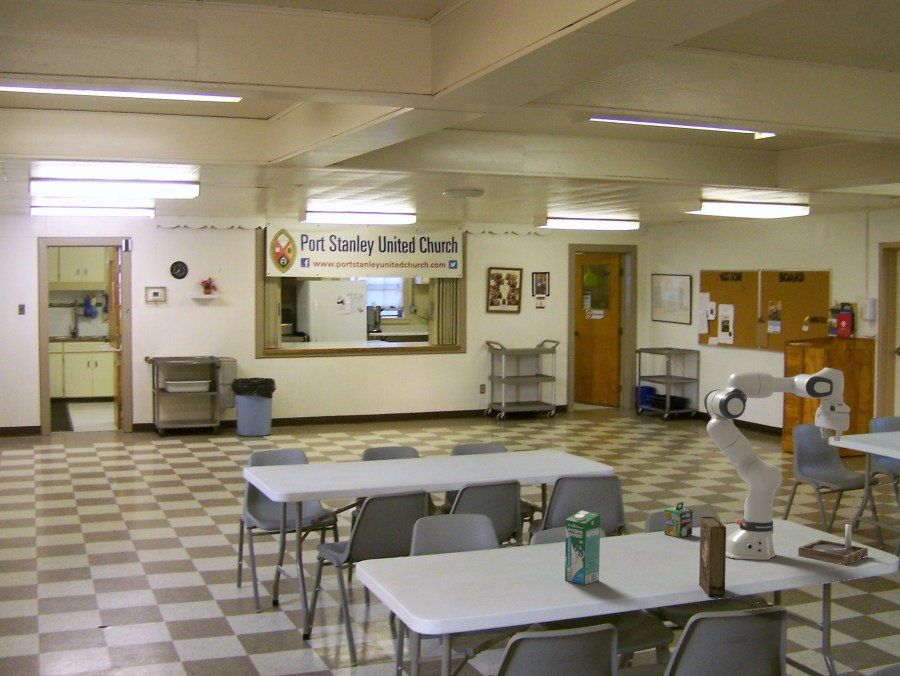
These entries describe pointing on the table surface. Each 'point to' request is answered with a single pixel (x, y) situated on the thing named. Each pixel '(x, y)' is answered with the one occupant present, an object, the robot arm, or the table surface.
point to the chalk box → (678, 521)
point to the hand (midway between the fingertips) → (830, 439)
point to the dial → (836, 548)
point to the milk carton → (582, 547)
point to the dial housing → (832, 557)
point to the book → (712, 556)
